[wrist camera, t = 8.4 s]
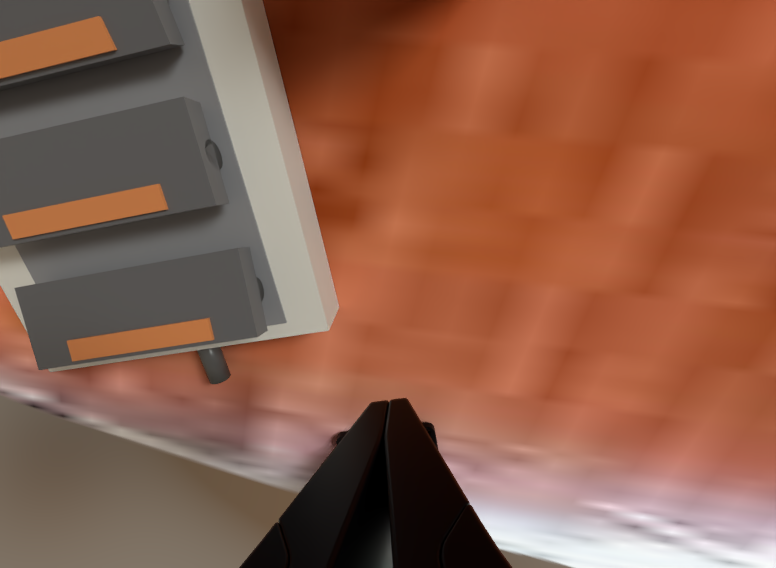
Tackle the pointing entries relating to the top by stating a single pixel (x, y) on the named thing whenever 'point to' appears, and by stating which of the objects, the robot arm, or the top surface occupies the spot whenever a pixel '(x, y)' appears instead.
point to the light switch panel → (239, 171)
